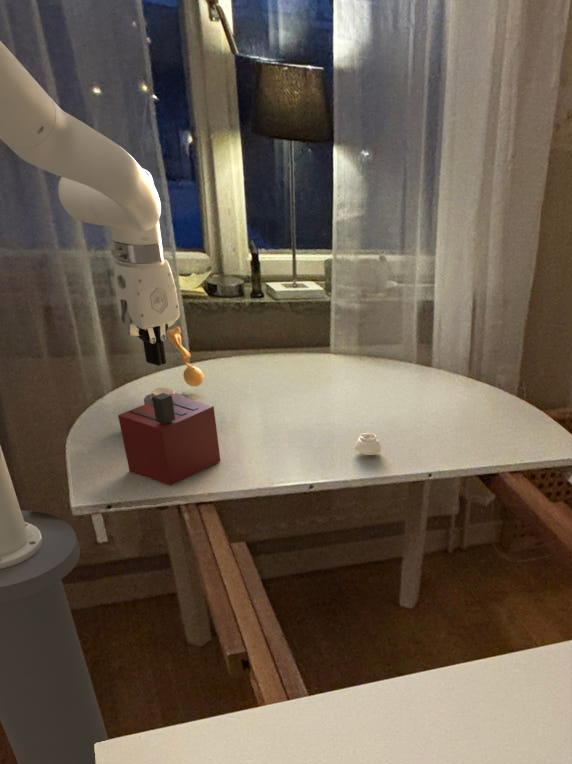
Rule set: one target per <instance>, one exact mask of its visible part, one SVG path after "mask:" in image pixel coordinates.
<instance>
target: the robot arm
mask: <svg viewBox="0 0 572 764" xmlns="http://www.w3.org/2000/svg"><path fill="white" fill-rule="evenodd" d="M0 140H1V141H2V142H3V143H4V144H5V145H6V146H7V147H9V149H11V151H13V153H15V155H16V156H17V157H19V158H20V159H21V160H23V161H24V162H26V163H28V164H30V165H32V166H34V167H36V168H38V169H40V170H42V171H45V172H47V173H49V174H52V175H55V176H57V177H60V179H59V182H58V187H57V193H58V198H59V201H60V203H61V205H62V207H63V208H64V210H65V211H66V213H68V214H69V216H71V217H72V218H74V219H75V220H77V221H80V222H82V223H86V224H90V225H95V226H96V225H97V226H103V227H110V231H111V236H112V242H113V249H111V255H112V256H113V258H115V259H116V261H115V262H114V287H115V298H116V299H115V300H116V306H117V311H118V315H119V319H120V321H121V323H122V324H124V333H125V334H126V335H129V336H133V337H134V336H135V337H138V339H139V341H142V343H143V351H144V355H145V362H146V363H147V364H150V365H154V366H158V367H159V366H162V365H166V364H167V359H166V351H165V346H164V345H165V344H164V341H166V337H167V332H168V329H169V328H170V327H172V325H175V323H176V321H177V320H179V319H180V317H181V312H180V304H179V298H178V293H177V288H176V283H175V279H174V275H173V272H172V269H171V266H170V263H169V260H167V259H166V258H165V256H164V247H163V242H162V234H161V227H160V225H161V224H160V218H161V213H162V210H161V209H162V205H161V200H160V197H159V196H160V195H159V193H158V191H157V188H156V186H155V183H154V179H153V176H152V174H151V172H150V171H148V170H147V169H146V168H143V167H142V166H141V165H140V164H139V163H138V161H136V160H135V158H134V157H133V156H132V155H131V154H130V153H129V152H128V151H126V150H125V149H124V148H123V147H121V146H120V145H119V144H117V143H116V142H114V141H113V140H112V139H111V138H108V137H107V136H105V135H104V134H102V133H100V131H99V132H98V131H97V130H95V129H94V128H92V127H91V126H89V125H88V124H86V123H84V122H83V121H81V120H79V119H78V118H77V117H75V116H73V115H71V114H69V113H68V112H66V111H64V110H63V109H62V108H61V107H60V106H59V105H58V104H57V103H56V102H55V101H54V100H53V98H51V96H50V95H49V94H48V93H47V91H45V89H44V88H43V87H42V85H40V84H39V83H38V81H37V80H36V79H35V78H34V77H33V76H32V75H31V73H29V71H28V69H26V67H24V65H23V64H22V63H21V62H20V61H19V59H18V58H17V57H15V54H13V53H12V52H11V51H10V50H9V48H8V47H7V46H6V45H5V44H4V43H3V41H1V40H0ZM42 542H43V540H42V536H41V533H40V531H39V529H38V528H37V527H35V526H34V525H32V524H30V523H27V522H24V519H23V516H22V513H21V507H20V503H19V500H18V497H17V494H16V491H15V487H14V484H13V481H12V477H11V474H10V471H9V468H8V465H7V461H6V459H5V456H4V453H3V449H2V445H0V569H3V568H7V567H10V566H14V565H16V564H19V563H21V562H23V561H25V560H27V559H29V558H30V557H32V556H33V555H34V554H35V553H36V552H37V551H38V550H39V549H40V547H41V546H42Z"/></svg>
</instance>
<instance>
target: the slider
mask: <svg viewBox="0 0 572 764" xmlns="http://www.w3.org/2000/svg"><path fill="white" fill-rule="evenodd" d="M152 400H153V406H154V412H155V417H156V421H157V422H160V423H163V424H166V423H169V422H171V421H173V420H175V413H174V407H173V401H172V395H169V394H166V393H161V394H159V395H156V396H154V397H152Z"/></svg>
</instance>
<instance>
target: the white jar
mask: <svg viewBox="0 0 572 764" xmlns="http://www.w3.org/2000/svg"><path fill="white" fill-rule="evenodd" d="M382 449H383V447H382V445H381V443H380V441H379V439H378V436H377V435H376V434H374V433H372V432H364V433H360V434H359V437H358V438H357V440H356V442H355V444H354V450H355V452H357V453H359V454H361V455H364V456H365V455H367V456H371V455H377V454H379V453H381V452H382Z"/></svg>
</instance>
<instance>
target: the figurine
mask: <svg viewBox="0 0 572 764" xmlns="http://www.w3.org/2000/svg"><path fill="white" fill-rule="evenodd" d="M181 333H182V330H181V327H180V326H175V327H174V328H172V329H169V330H167V331H166V337H167V338H168V340H169V341H170V343H171V344H173V345H174V347H175V349H177V350H178V351H179V352H180V354H181V355H183V356H182V359H183V363H184V365H185V366H186V368H185V369H184V371H183V374H182V377H183V380H184V382H185V383H186V384H187V385H189V386H190V387H194V388H195V387H199V386H201V385H202V384H203V383H204V380H205V379H204V378H205V375H204V373H203V371H202V370H201V369H200V367H197V366H194V365H193V364H190V363H189V360H190V359H191V357H192V355H191V353H190V352H189V351H188V349H186V348H185V347H184V346H183V345H182V336H181Z"/></svg>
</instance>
